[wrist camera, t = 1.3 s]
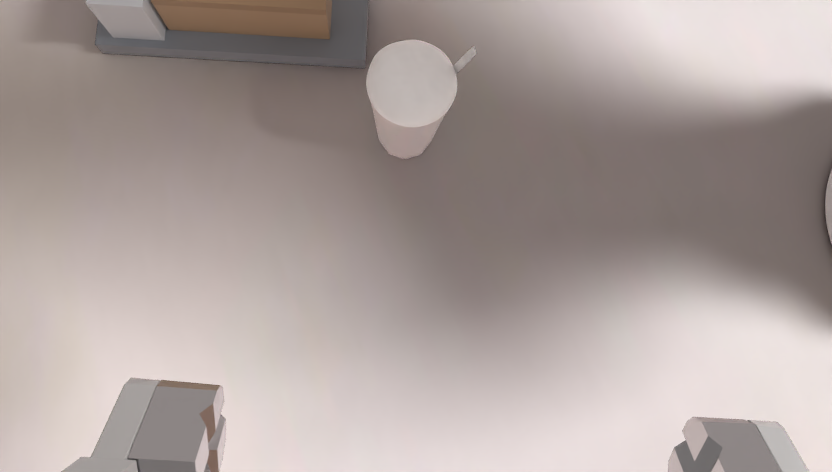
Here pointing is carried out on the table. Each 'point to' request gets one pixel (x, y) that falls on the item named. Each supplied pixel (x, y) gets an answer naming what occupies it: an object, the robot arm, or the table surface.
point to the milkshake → (411, 93)
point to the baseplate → (262, 46)
